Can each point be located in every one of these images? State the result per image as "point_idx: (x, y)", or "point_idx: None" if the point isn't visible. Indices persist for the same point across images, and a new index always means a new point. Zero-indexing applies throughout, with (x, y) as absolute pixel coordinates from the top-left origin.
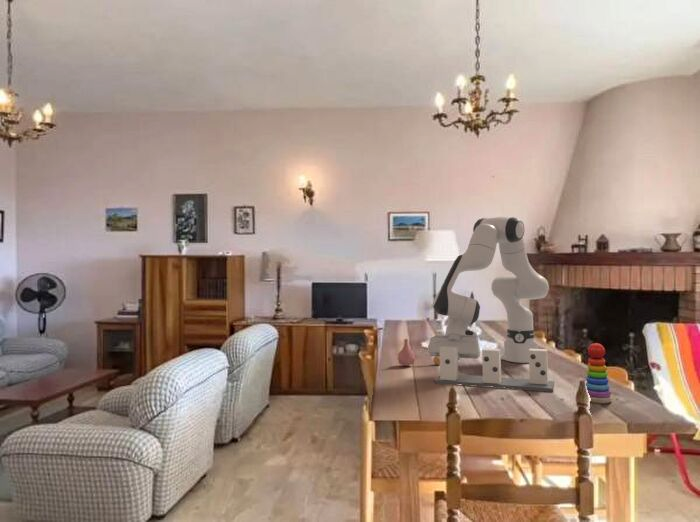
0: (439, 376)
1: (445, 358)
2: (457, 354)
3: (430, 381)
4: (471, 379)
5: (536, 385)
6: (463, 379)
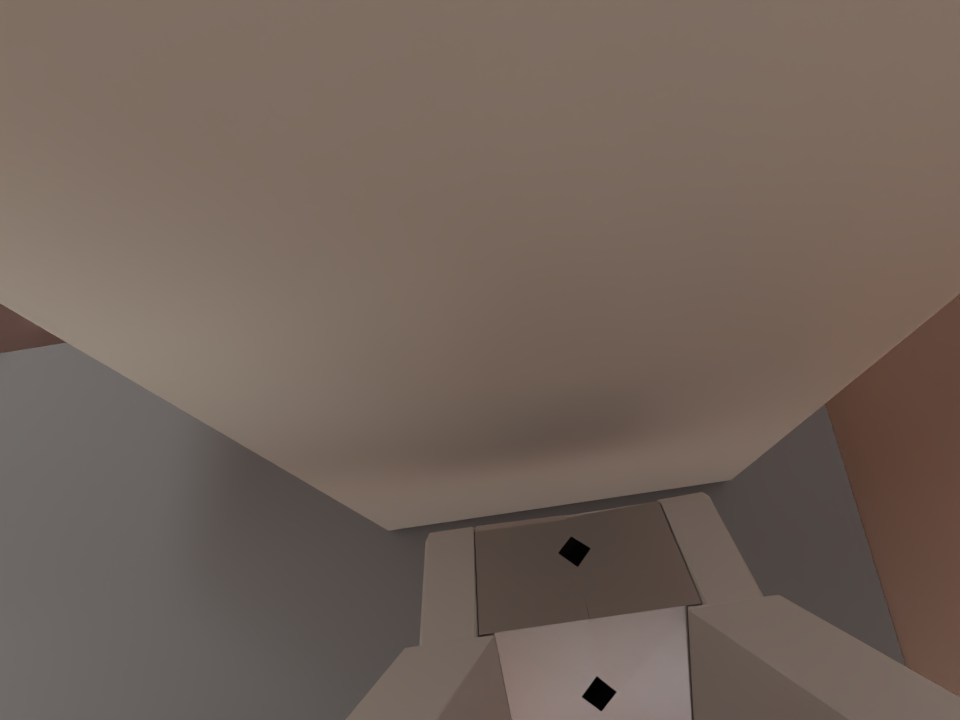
0: (861, 569)
1: None
2: (69, 302)
3: (902, 344)
4: (120, 598)
5: None
6: (273, 521)
